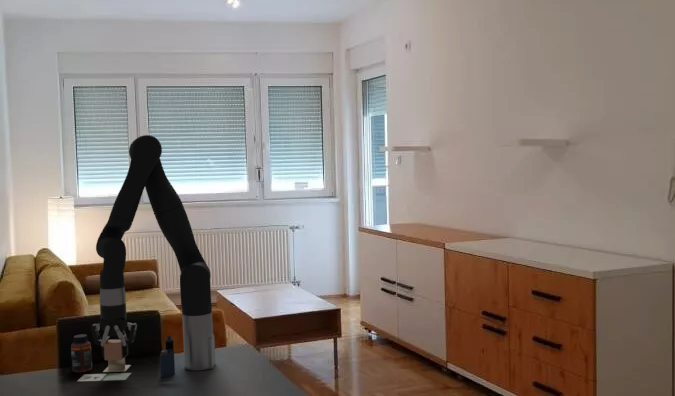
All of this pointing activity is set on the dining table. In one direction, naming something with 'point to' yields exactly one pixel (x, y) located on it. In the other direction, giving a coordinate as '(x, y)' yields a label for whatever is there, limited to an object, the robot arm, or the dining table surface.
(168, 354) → the vaping device
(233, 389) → the dining table surface
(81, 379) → the tile
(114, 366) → the maple block
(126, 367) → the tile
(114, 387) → the dining table surface
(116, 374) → the sage pad
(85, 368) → the supplement bottle
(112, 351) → the terracotta block
